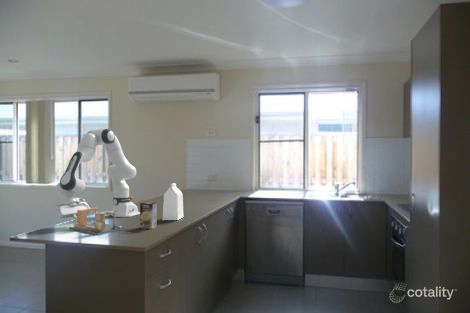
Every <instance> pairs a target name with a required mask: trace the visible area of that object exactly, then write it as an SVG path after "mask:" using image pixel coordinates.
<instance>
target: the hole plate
mask: <svg viewBox="0 0 470 313" xmlns="http://www.w3.org/2000/svg"><path fill="white" fill-rule="evenodd" d="M87 226H92V227H95V220H94V221H93V222H91V223H87ZM68 230H71V231H76V232H80V233H84V234H89V235H95V236H101V235H104V234H109V233H115V232H119V231H123V230H126V227H125V226H122V225H115V228H113V224H109V223H105V229H104V232H97V231H92V230H87V229H82V228H77V227H74V226H70V227H68Z"/></svg>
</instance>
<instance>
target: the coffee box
mask: <svg viewBox="0 0 470 313" xmlns="http://www.w3.org/2000/svg"><path fill="white" fill-rule="evenodd" d="M139 204H140V205H139V212H140V214H139V228H141V229H149V230H150V229H155V228H157V223H158V222H157V217H158V216H157V213H158V212H157V211H158V209H157V208H158V207H157V206H158V203H157V202H151V201H143V202H140V203H139Z"/></svg>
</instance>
